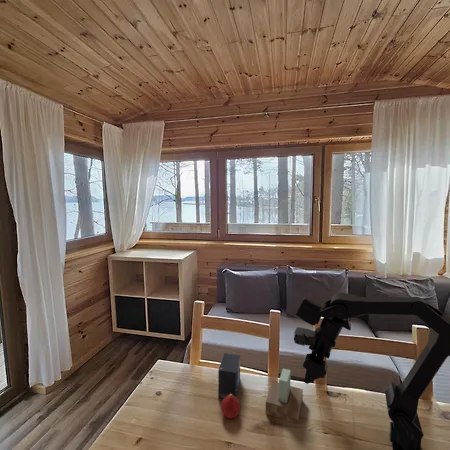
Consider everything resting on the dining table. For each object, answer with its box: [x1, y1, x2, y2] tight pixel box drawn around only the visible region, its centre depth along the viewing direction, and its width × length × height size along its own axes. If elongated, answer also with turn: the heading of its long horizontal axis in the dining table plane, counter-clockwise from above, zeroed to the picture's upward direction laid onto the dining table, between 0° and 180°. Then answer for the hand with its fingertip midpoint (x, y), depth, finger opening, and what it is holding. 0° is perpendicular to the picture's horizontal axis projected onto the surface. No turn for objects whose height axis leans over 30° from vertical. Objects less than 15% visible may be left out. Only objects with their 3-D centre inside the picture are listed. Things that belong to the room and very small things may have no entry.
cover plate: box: [278, 368, 292, 404], centre depth 86 cm, size 2×6×11 cm, turn 156°
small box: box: [217, 352, 241, 400], centre depth 96 cm, size 11×6×10 cm, turn 168°
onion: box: [221, 394, 241, 419], centre depth 83 cm, size 6×6×8 cm
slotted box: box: [265, 381, 304, 425], centre depth 86 cm, size 10×10×5 cm
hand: (308, 373), depth 84 cm, fingers open, 9 cm apart
